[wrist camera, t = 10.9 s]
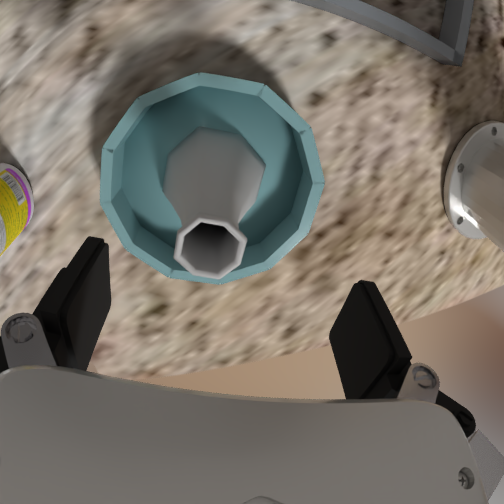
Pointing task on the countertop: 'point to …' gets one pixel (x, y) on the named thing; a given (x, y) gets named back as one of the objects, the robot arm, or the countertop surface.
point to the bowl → (176, 130)
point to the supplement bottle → (13, 204)
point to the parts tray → (410, 26)
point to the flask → (211, 198)
